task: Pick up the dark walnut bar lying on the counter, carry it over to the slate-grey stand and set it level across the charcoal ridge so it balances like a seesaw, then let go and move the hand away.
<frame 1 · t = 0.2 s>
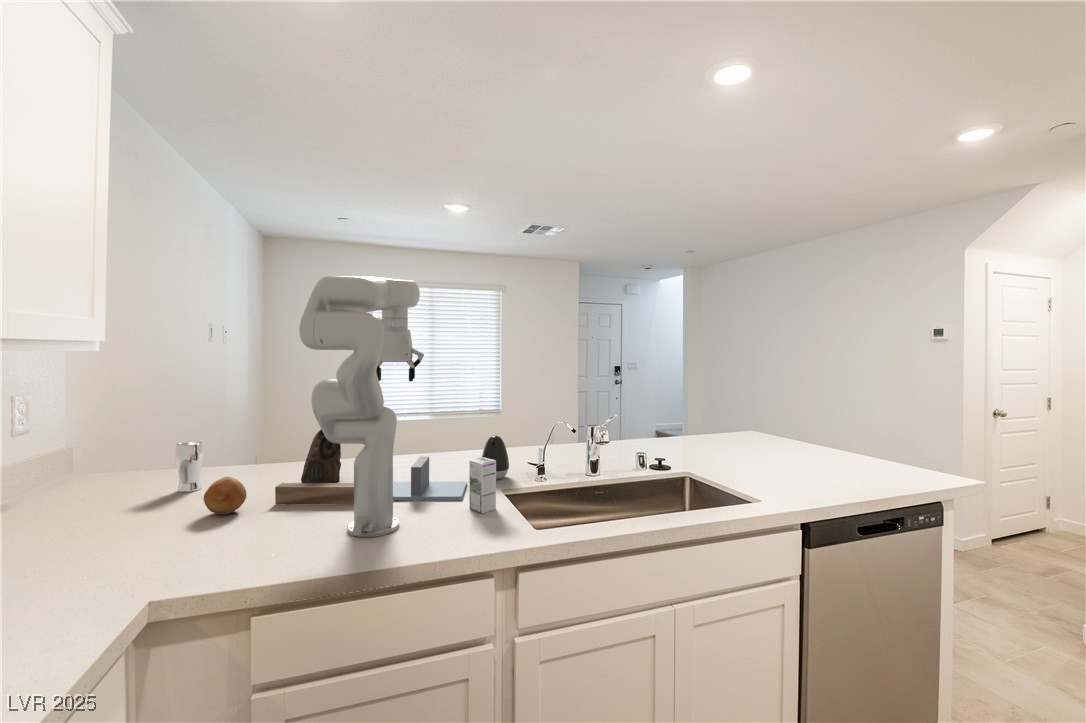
hand: (394, 381, 147), 36 cm above the table, tool pointing down, fingers open, 9 cm apart
owl: (321, 484, 162), on the table
onion: (225, 514, 134), on the table
walnut bar: (319, 503, 144), on the table
syrup box: (482, 509, 140), on the table
beer glass: (189, 490, 154), on the table
balance stand: (420, 492, 154), on the table
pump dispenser: (494, 478, 173), on the table
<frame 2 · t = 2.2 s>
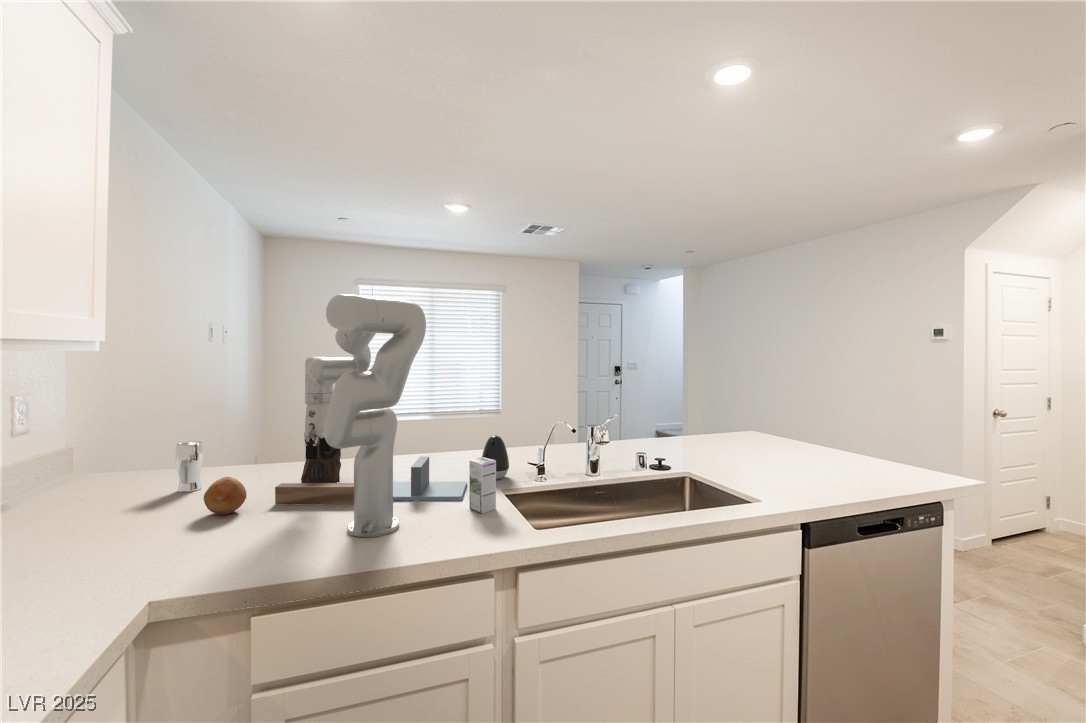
hand: (318, 455, 144), 14 cm above the table, tool pointing down, fingers open, 9 cm apart
nothing on the table moved.
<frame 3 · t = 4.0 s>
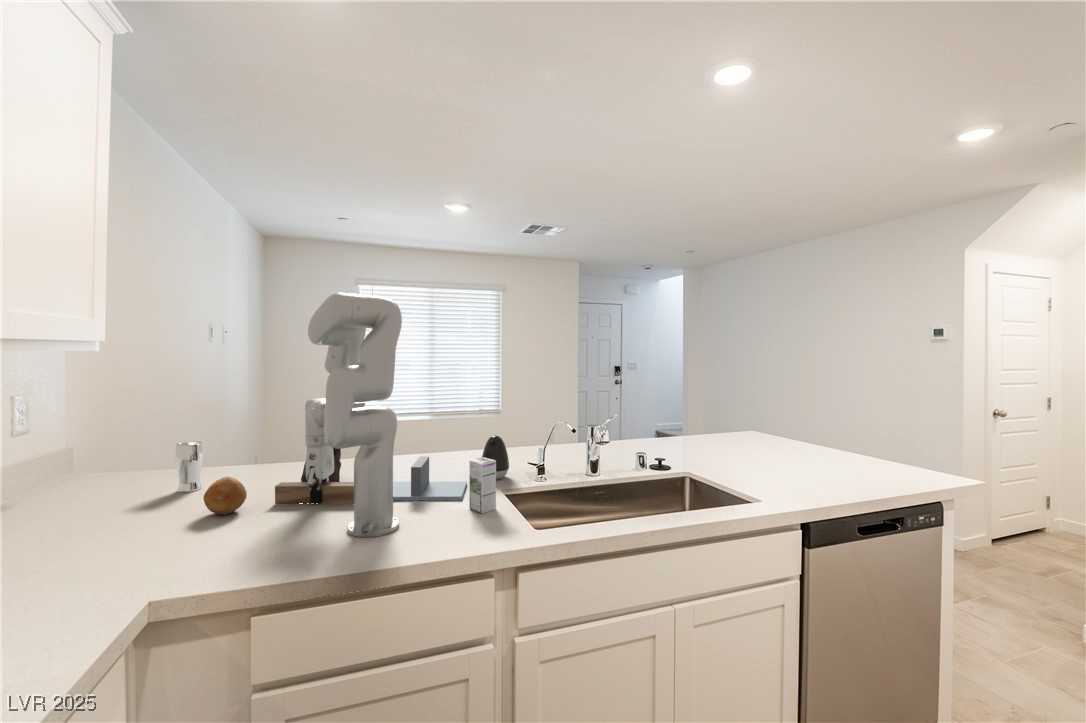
hand: (319, 499, 144), 1 cm above the table, tool pointing down, fingers closed on walnut bar, 4 cm apart
walnut bar: (319, 502, 144), on the table, touching gripper
everything else where it was.
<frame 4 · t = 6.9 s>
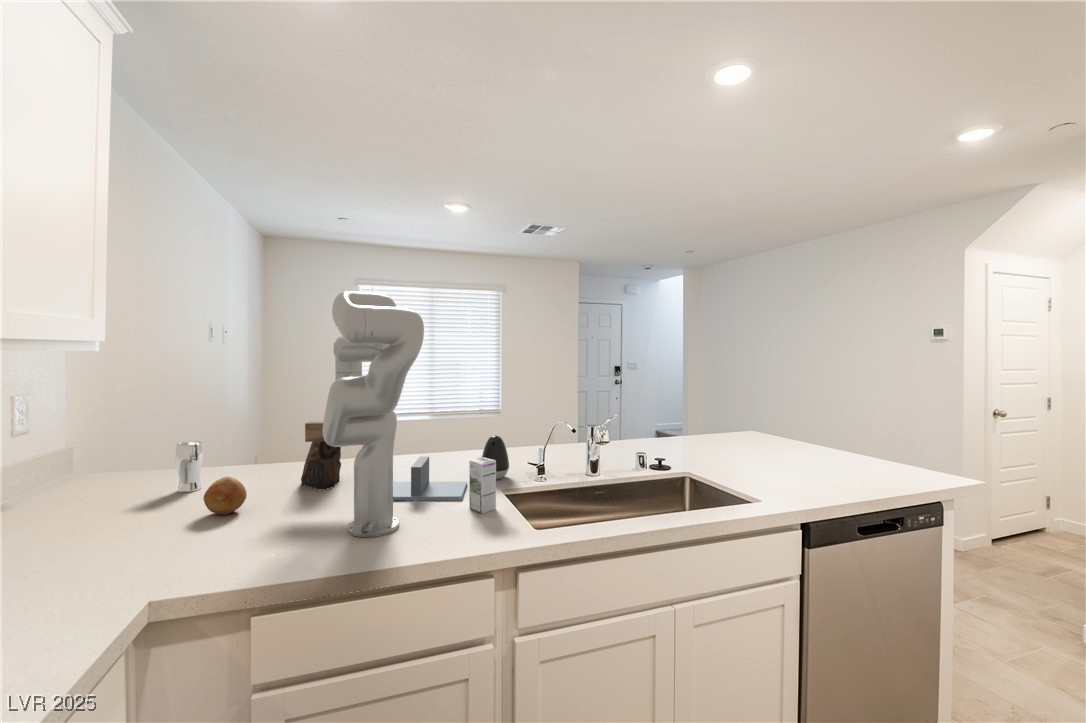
hand: (349, 437, 146), 19 cm above the table, tool pointing down, fingers closed on walnut bar, 4 cm apart
walnut bar: (349, 439, 146), point 18 cm above the table, touching gripper
everything else where it was.
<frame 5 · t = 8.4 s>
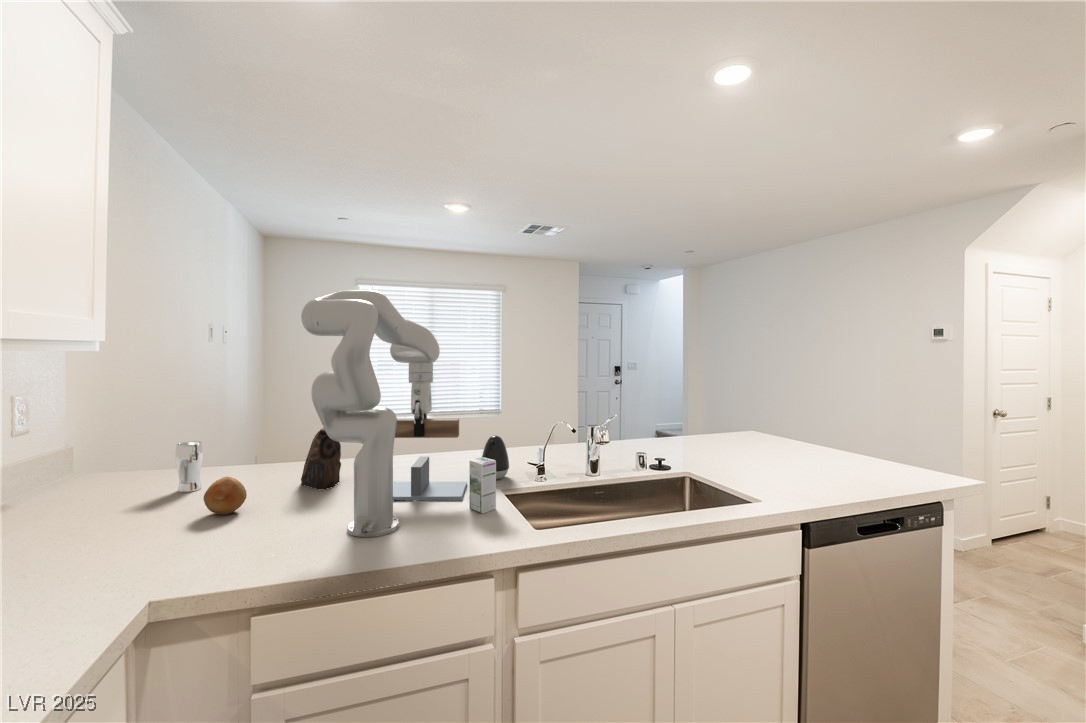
hand: (420, 434, 154), 19 cm above the table, tool pointing down, fingers closed on walnut bar, 4 cm apart
walnut bar: (420, 436, 154), point 18 cm above the table, touching gripper
everything else where it was.
when the fingers open (11 cm above the table, at t = 9.9 s): walnut bar stays where it is, resting on balance stand.
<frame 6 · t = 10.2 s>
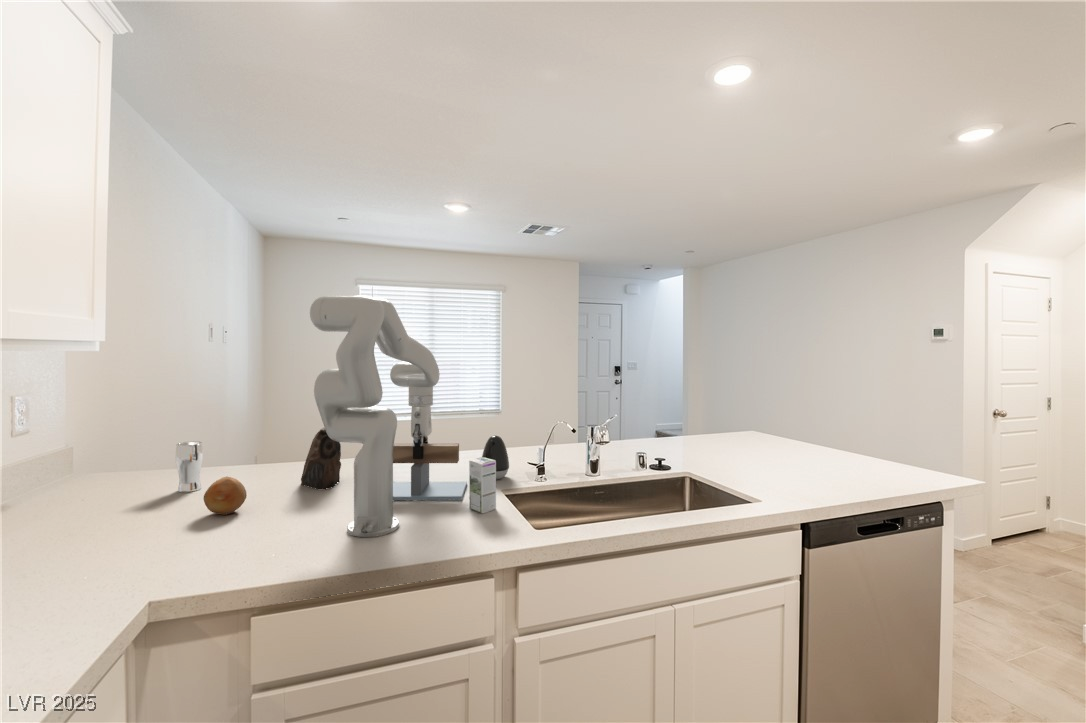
hand: (420, 455, 154), 12 cm above the table, tool pointing down, fingers open, 6 cm apart
walnut bar: (420, 461, 154), point 10 cm above the table, touching balance stand
everything else where it was.
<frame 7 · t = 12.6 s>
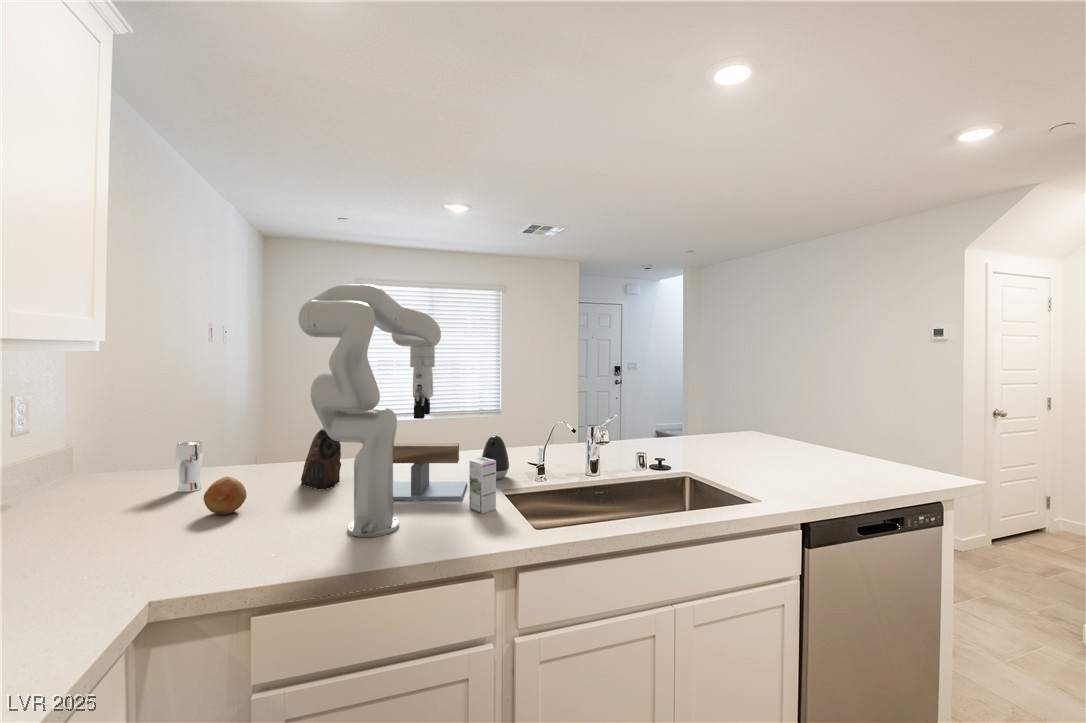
hand: (422, 416, 153), 25 cm above the table, tool pointing down, fingers open, 9 cm apart
nothing on the table moved.
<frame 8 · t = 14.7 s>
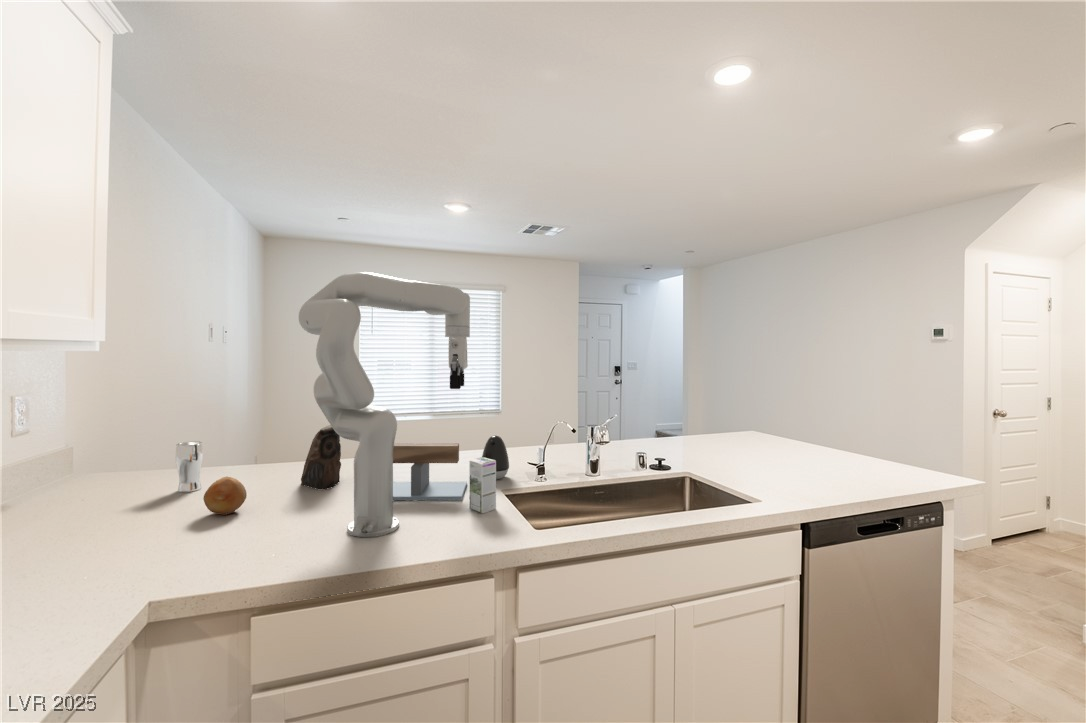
hand: (457, 387, 150), 34 cm above the table, tool pointing down, fingers open, 9 cm apart
nothing on the table moved.
at the end: walnut bar 0.1 cm off-centre on the balance stand, point 10.0 cm above the balance stand's base; walnut bar tilted 0°; the gripper is holding nothing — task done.
